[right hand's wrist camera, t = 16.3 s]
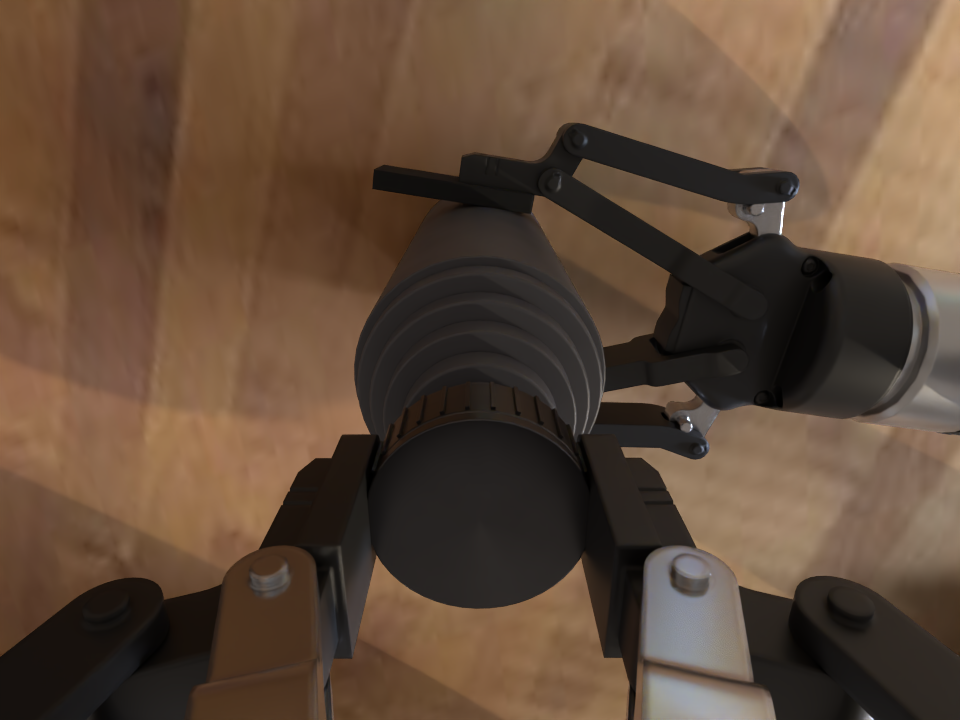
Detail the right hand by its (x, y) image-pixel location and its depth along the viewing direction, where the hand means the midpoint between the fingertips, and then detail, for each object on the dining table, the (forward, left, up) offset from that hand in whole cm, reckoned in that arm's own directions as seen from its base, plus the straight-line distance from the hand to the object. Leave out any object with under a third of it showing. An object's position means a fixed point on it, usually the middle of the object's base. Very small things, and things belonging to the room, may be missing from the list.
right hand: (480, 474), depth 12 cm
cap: (0, 0, +1) cm, 1 cm away
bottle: (0, 0, -22) cm, 22 cm away
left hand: (+1, +5, -16) cm, 16 cm away
